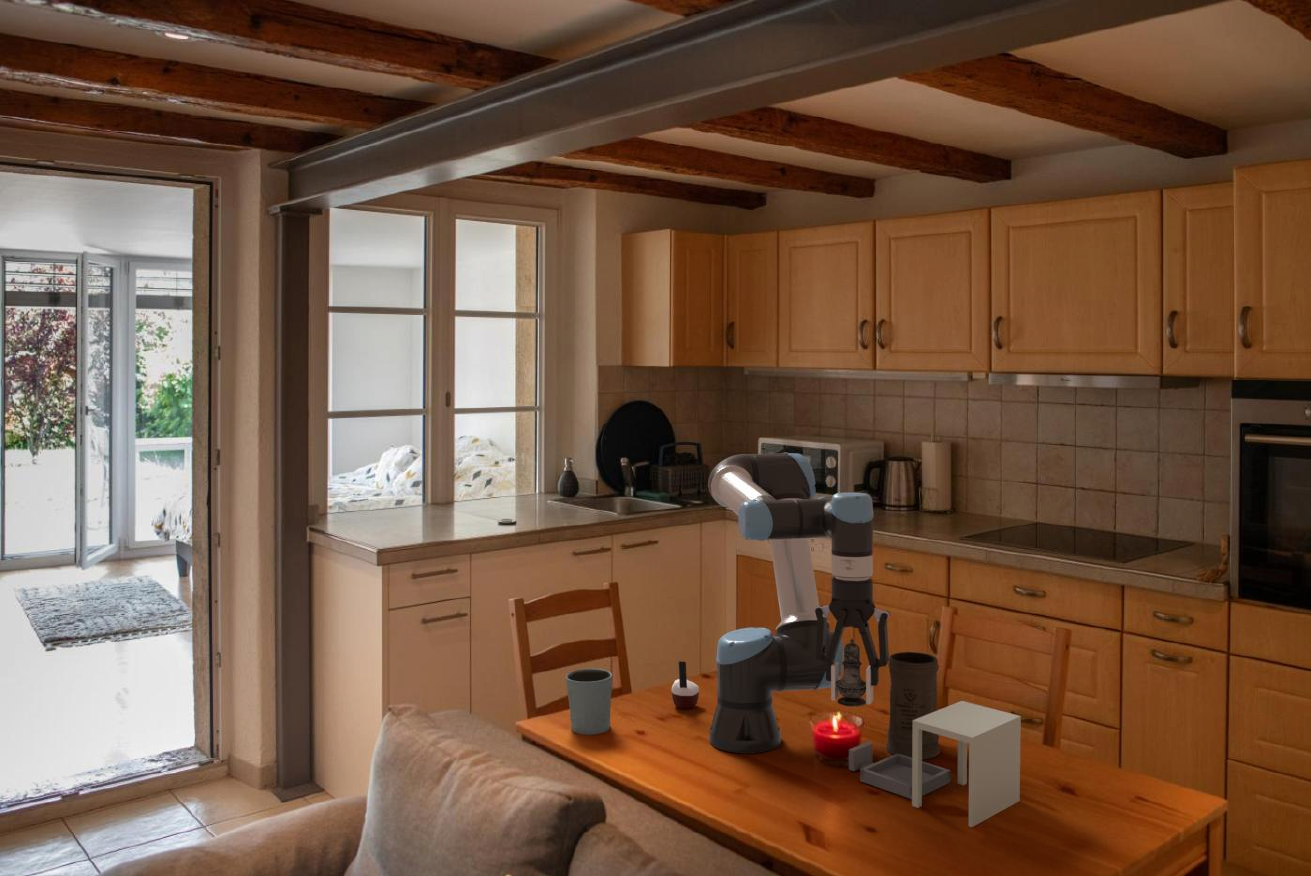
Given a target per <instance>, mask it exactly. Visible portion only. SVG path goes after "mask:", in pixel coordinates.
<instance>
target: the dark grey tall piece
mask: <svg viewBox="0 0 1311 876" xmlns="http://www.w3.org/2000/svg"><path fill="white" fill-rule="evenodd" d="M849 641H850V642H848V643H846V644H845V645H844V646H843V662H842V664H843V674H842V678H841V679H839V680H838V681H837V682H836V685H837V686H838V694H840V695H841V697H840V698H837V703H838V705H841V706H843V707H851V708H854V707H855V708H856V707H857V708H858V707H863V706H865V705H867V704H866V699H864V698H862V697H863V696H865V694H866V680H863V679H862V677H861V665H862V664H863V663H862V662H861V661H860V660H861V657H860V653H861V652H860V646H859V645H858V644H857V643H855V642H854V641H855V640H854V639H853V638H850V640H849Z"/></svg>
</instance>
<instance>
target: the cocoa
mask: <svg viewBox="0 0 1311 876" xmlns="http://www.w3.org/2000/svg"><path fill="white" fill-rule="evenodd" d="M687 678H688V677H687V662H686V661H680V660H679V661H678V679H675V680H674V682H673V684H672V686H671V697H672V701H673V704H674V705H675V707H676V708H678V709H680V710H690V708H691V709H693V708H695V706H697V704H698V701H699V694H700V692H699V691H700V687H699V686H698V684H696V683H694V682H693V681H690V680H689V679H687Z"/></svg>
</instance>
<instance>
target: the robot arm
mask: <svg viewBox="0 0 1311 876" xmlns="http://www.w3.org/2000/svg"><path fill="white" fill-rule="evenodd" d="M815 485H816V479H815V473H814V470H813V467H812V465H811V462H810V461H809V460H808V459H807V458H806V456H804V455H803V454H801V453H795V452H794V453H793V452H792V453H789V452H785V451H784V452H781V453H780V452H779V453H778V452H777V453H740V454H736V455H731V456H729V457H727V458H725V459H723V460H721V461H720V462H718V464H716V465H715V467H713V469H712V470H711V472H710V475H709V477H708V482H707V487H708V491H709V493H710V496H711V497H712V499H713V500H714V501H715V502H716V503H717V504H719V506H721V507H724V508H727V509H730V510H731V511H733V512H734V513H735V514H736V515H737V518H738V528H739V531H740V535H741V537H742V538H743V539H744V540H747V541H759V542H763V541H769V543H770V550H771V557H772V565H773V571H774V577H775V578H774V579H775V586H776V593H777V599H778V600H777V601H778V606H779V612H780V613H779V614H780V619H781V621H780V623H779V624H778V625H777V626H776V628H775V634H776V635H775V634H773V631H771V630H770V629H769V628H766V627H755V626H754V627H752V626H751V627H744V628H739V629H735V630H731V631H729V632H727V633H725V634H723V635H722V636H721V637H720V638H719V640H718V643H717V648H716V649H717V651H716V658H715V660H716V669H717V671H716V683H717V684H716V685H717V689H716V691H717V692H716V694H717V700H716V701H717V705H716V708H715V711H714V715H713V719H712V722H711V725H710V727H709V734H708V735H709V739H708V740H709V743H710V745H712V746H713V747H714V748H716V749H718V750H721V751H725V752H729V753H735V754H758V753H759V754H760V753H765V752H768V751H769V752H770V751H772V750H774V749H777V748H778V747H779V746H780V745H781V743H782V731H781V728H780V726H779V724H778V720H777V716H776V713H775V709H774V706H773V693H774V692H786V691H787V692H789V691H802V690H803V691H805V690H814V691H818V690H819V689H820V690H822V689H828V688H830V700H831V701H837V700H838V699H839V690H838V686H837V685H836V682H837V681H838V680H840V678H841V676H842V671H843V668H844V665H843V664H842V662H843V661H844V645H843V644H844V643H843V640H842V636H843V633H844V630H845V628H850V627H851V628H855V629H857V630H858V633H859V634H860V637H861V640H862V645H863V647H864V649H865V654H866V656H867V660H868V664H869V665H868V666H867V667H866V669H865V670H866V671H865V682H866V691H865V701H866V704H865V705H871V704H872V703H873V702H874V687H877V686H878V684H879V681H880V675H879V674H880V673H879V670H880V668H882V667H886V666H888V663H889V658H890V653H889V652H890V651H889V636H888V634H889V633H888V622H889V618H890V615H891V614H890V611H889V610H881V609H878V608H876V605H875V604H874V600H873V599H874V595H873V594H874V587H873V586H874V580H873V579H872V578H871V576H873V575H874V555H873V554H874V552H873V551H874V546H873V543H874V542H873V541H874V540H873V539H874V536H873V535H874V507H873V498H872V496H871V495H870V494H868V493H866V492H865V493H861V492H851V491H850V492H848V491H847V492H836V493H835V494H833V496H825V495H824V496H820V497H817V498H815V497H816V486H815ZM824 538H826V539H827V538H831V539H830V540H831V550H830V551H831V554H830V555H831V558H830V559H831V575H832V576H833V577H832V578H831V600H830V602H829V604H828V605H824V606H823V605H820V602H819V596H818V591H817V589H818V588H817V585H816V579H815V572H814V567H813V566H814V565H813V560H812V554H811V552H812V551H811V547H810V546H811V545H810V539H824ZM830 613H831V615H832V616H833V617H834V619H835V620H836V623H835V627H834V630H833V631H831V627H830V626H831V625H830V622H829V620H828V617H829V615H830ZM873 615H874V617H875V621H876V622H877V623H878V624H877V630H878V633H877V634H878V651H879V652H878V653H879V656H878V654H877V651H876V648H875V644H874V640H873V637H872V635H871V634H872V633H871V631H870V630H871V629H870V625H869V620H870V619H871V618H872V616H873Z"/></svg>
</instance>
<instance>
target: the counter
mask: <svg viewBox="0 0 1311 876" xmlns="http://www.w3.org/2000/svg"><path fill="white" fill-rule="evenodd" d="M1021 718H1022V717H1021V715H1017V714H1013V713H1010V712H1006V711H1002V710H998V709H995V708H991V707H987V706H985V705H980V704H976V703H971V702H968V701H964V700H960V701H958V702H956V703H955V702H954V703H953V704H950V705H948V706H946V707H943V708H940V709H937V711H935V712H932V713H930V714H927V715H925V716H922V717H920V718H917V719H915V720H913V735H912V799H911V806H912V807H914V808H918V809H919V808H920V807H922V801H923V800H922V799H923V796H922V761H923V759H922V730H925V731H928V732H931V733H935V734H938V735H939V736H942V737H946V738H948V739H949V738H950V739H953V740H955V741H957V784H958V785H961V786H965V785H967V778H968V827H969V828H974V827H975V826H976V825H977V826H978V824H980V823H982V822H984V821H986V820H987V819H989V818H992V817H993V816H995V815H996V814H999V813H1000V812H1002V811H1004V810H1006V809H1008V808H1009V807H1011V806H1013V805H1015V804H1017V803H1019V802H1020V800H1021V799H1020V796H1021V795H1020V793H1021V792H1020V791H1021V789H1020V788H1021V785H1020V784H1021V731H1022V730H1021V729H1022V728H1021V726H1022V725H1021V724H1022V723H1021V722H1022V721H1021V720H1022V719H1021ZM968 745H969V746H968ZM968 748H969V749H968ZM968 751H969V752H968ZM968 754H969V755H968ZM968 757H969V758H968ZM967 760H968V761H967ZM967 767H968V768H967ZM967 769H968V770H967ZM967 772H968V773H967Z"/></svg>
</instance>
